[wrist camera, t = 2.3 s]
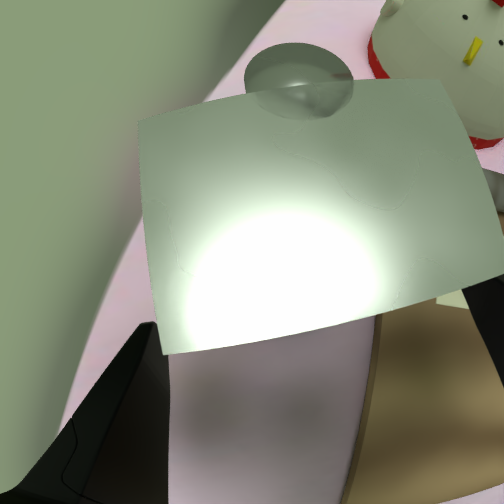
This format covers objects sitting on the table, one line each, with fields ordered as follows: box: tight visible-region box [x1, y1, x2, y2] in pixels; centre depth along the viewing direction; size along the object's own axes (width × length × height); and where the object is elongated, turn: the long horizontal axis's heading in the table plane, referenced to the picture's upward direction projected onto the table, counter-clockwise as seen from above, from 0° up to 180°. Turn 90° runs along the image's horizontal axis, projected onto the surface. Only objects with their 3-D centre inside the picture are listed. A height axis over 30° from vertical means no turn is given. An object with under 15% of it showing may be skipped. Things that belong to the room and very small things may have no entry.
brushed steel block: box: [138, 43, 504, 355], centre depth 11 cm, size 5×6×13 cm
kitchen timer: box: [367, 0, 504, 149], centre depth 12 cm, size 14×14×15 cm
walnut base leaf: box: [341, 168, 504, 504], centre depth 14 cm, size 22×14×4 cm, turn 174°
